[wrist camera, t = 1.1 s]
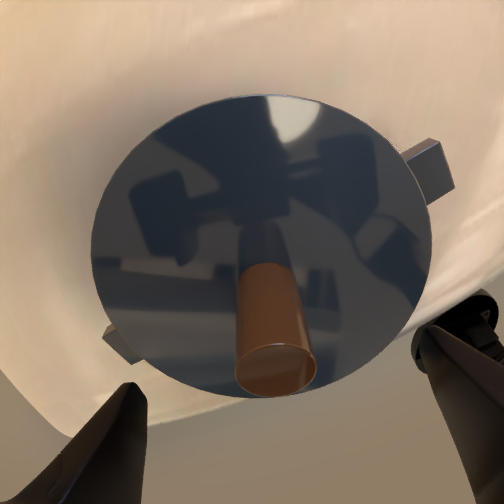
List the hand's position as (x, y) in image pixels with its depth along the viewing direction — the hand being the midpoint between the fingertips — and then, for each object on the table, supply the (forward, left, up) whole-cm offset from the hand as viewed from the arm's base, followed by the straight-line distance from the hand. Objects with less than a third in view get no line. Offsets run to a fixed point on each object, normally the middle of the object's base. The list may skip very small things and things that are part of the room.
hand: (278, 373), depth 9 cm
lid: (0, 0, -5) cm, 5 cm away
